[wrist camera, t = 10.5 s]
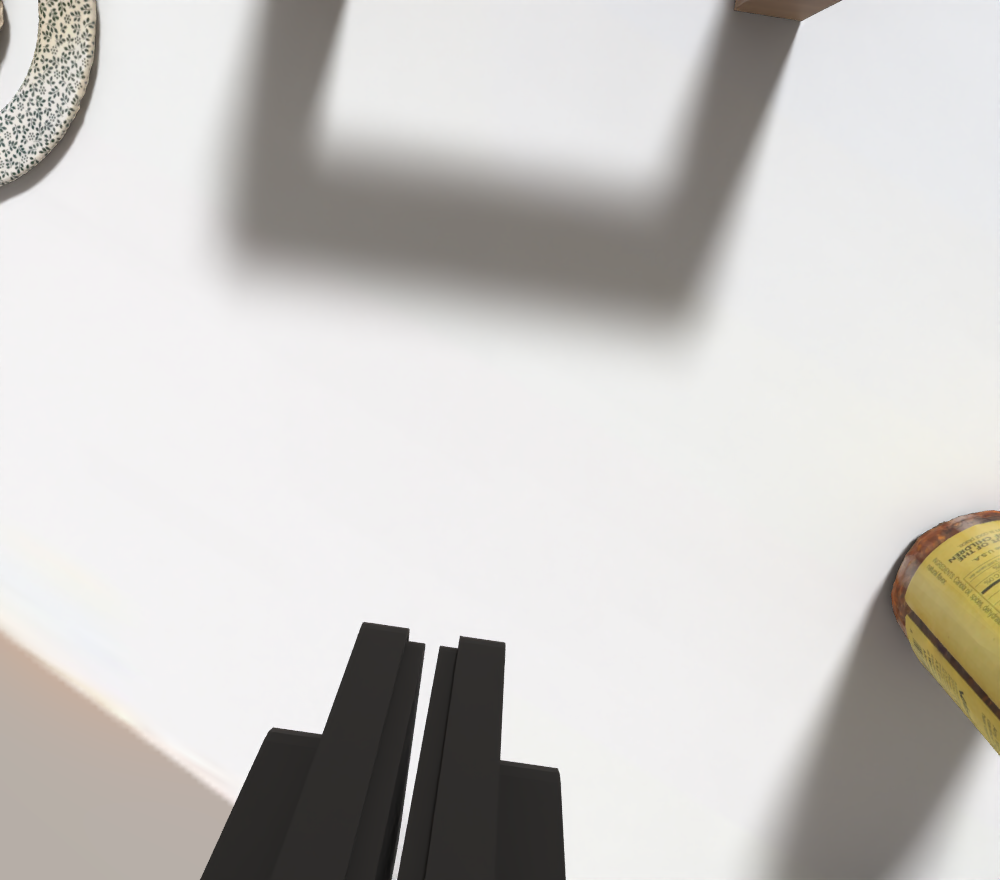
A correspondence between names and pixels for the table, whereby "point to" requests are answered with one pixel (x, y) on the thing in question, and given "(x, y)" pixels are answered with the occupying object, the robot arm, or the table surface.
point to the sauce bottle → (957, 613)
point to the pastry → (48, 85)
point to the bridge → (784, 7)
